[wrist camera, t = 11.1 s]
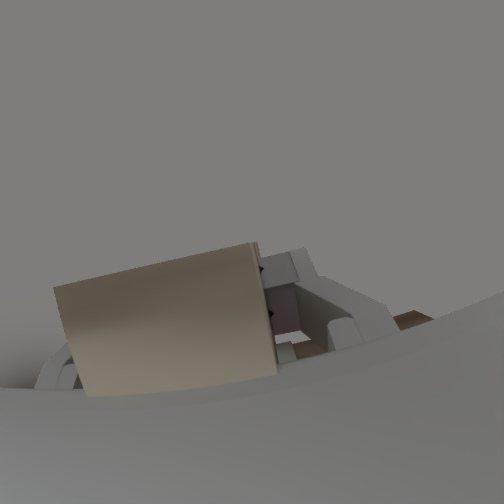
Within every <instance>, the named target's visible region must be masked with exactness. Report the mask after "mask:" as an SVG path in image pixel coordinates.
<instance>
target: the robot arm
mask: <svg viewBox="0 0 504 504" xmlns="http://www.w3.org/2000/svg"><path fill="white" fill-rule="evenodd" d="M258 265H259V269H260V275H261V280H262V285H263V290H264V295H265V299H266V303H267V308H268V311H269V316H270V321H271V325H272V329H273V334H274V335H280V334H285V333H290V332H295V331H300V330H301V331H302V332H303V333H304V334H305V335H307V336H308V337H309V338H310V339H312V340H313V341H314V342H315V343H317V344H318V345H319V346H320V347H322V348H323V349H324V350H325V351H327V353H323V354H319V355H315V356H311V357H307V358H303V359H298V360H294V361H289V362H285V363H280V364H276V367H277V373H278V374H277V375H272V376H267V377H262V378H257V379H252V380H246V381H240V382H235V383H228V384H222V385H216V386H209V387H202V388H194V389H186V390H178V391H168V392H158V393H147V394H134V395H119V396H96V397H87V396H86V393H85V391H84V388H83V385H82V383H81V380H80V377H79V375H78V372H77V369H76V366H75V363H74V360H73V357H72V354H71V351H70V348H69V345H68V342H67V343H66V344H65V345H64V346H63V347H62V348H61V349H60V350H59V351H58V352H56V353H55V354H54V355H53V356H52V357H51V358H50V359H49V360H48V361H47V362H46V363H45V364H44V365H43V367H42V370H41V372H40V375H39V377H38V380H37V382H36V385H35V388H34V389H15V388H0V504H504V291H503V292H501V293H499V294H497V295H494V296H492V297H490V298H487V299H485V300H483V301H480V302H478V303H475V304H473V305H471V306H468V307H466V308H463V309H461V310H458V311H456V312H453V313H450V314H448V315H445V316H442V317H440V318H437V319H434V320H431V321H429V322H426V323H423V324H420V325H417V326H414V327H411V328H408V329H405V330H402V331H400V329H399V327H398V326H397V324H396V322H395V320H394V319H393V317H392V315H391V314H390V312H389V310H388V309H387V307H386V305H384V304H382V303H380V302H378V301H376V300H374V299H371V298H369V297H367V296H365V295H363V294H361V293H359V292H357V291H354V290H352V289H350V288H348V287H346V286H344V285H342V284H339V283H337V282H335V281H333V280H331V279H329V278H326V277H325V276H320V277H318V275H317V272H316V270H315V268H314V266H313V264H312V261H311V259H310V257H309V255H308V253H307V250H306V248H300V249H296V250H292V251H289V252H285V253H281V254H277V255H273V256H268V257H264V258H260V259H258Z"/></svg>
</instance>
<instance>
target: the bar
mask: <svg viewBox="0 0 504 504" xmlns="http://www.w3.org/2000/svg"><path fill="white" fill-rule="evenodd" d="M260 258H261V257H260V253H259V248H258V244H257V242H254V243H246V244H241V245H237V246H232V247H228V248H223V249H219V250H215V251H210V252H205V253H201V254H196V255H192V256H188V257H183V258H179V259H174V260H170V261H166V262H161V263H157V264H152V265H148V266H143V267H139V268H135V269H130V270H126V271H122V272H117V273H113V274H109V275H104V276H100V277H96V278H91V279H87V280H83V281H79V282H74V283H70V284H66V285H62V286H58V287H54V293H55V297H56V301H57V305H58V309H59V313H60V317H61V321H62V324H63V328H64V331H65V335H66V338H67V341H68V345H69V348H70V351H71V354H72V357H73V360H74V363H75V366H76V369H77V372H78V375H79V377H80V380H81V383H82V385H83V388H84V391H85V393H86V396H87V397H96V396H119V395H134V394H147V393H158V392H168V391H178V390H186V389H194V388H202V387H209V386H216V385H222V384H228V383H235V382H240V381H246V380H252V379H257V378H262V377H267V376H272V375H277V374H278V373H277V367H276V364H279V361H278V354H277V348H276V342H275V336H274V334H273V329H272V325H271V321H270V316H269V311H268V308H267V303H266V299H265V295H264V290H263V285H262V280H261V275H260V269H259V265H258V259H260Z"/></svg>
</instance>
